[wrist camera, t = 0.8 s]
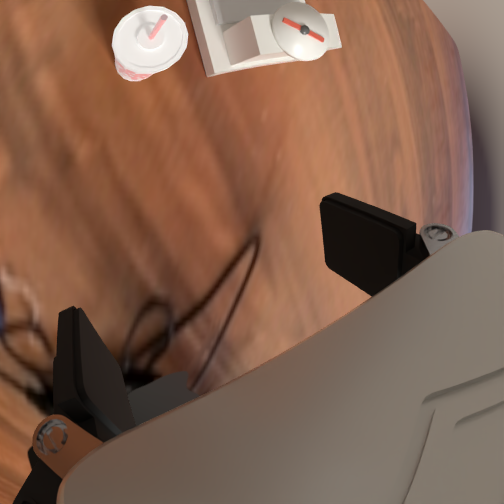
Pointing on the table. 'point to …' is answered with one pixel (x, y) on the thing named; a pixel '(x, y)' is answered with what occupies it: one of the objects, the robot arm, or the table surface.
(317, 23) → the scale
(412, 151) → the table surface
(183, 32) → the beverage cup
